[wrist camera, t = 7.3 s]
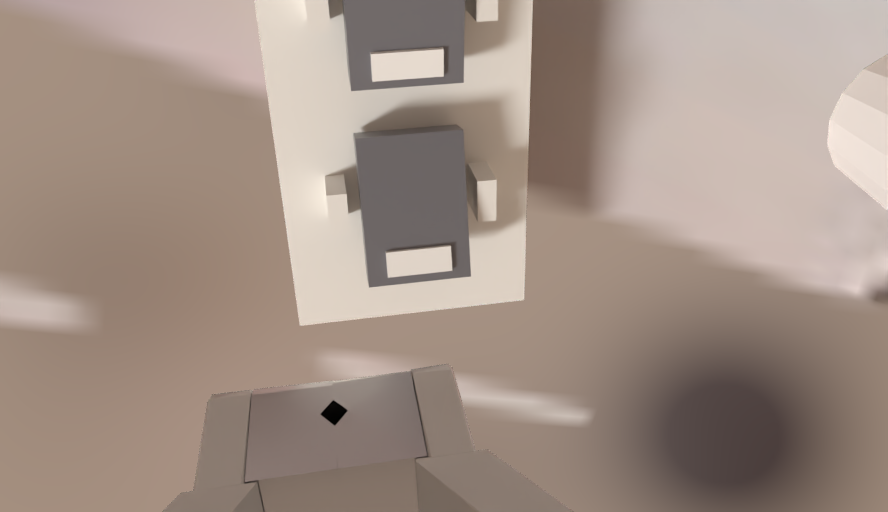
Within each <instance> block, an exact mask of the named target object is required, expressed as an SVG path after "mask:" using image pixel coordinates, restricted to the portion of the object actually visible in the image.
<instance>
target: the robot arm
mask: <svg viewBox="0 0 888 512" xmlns="http://www.w3.org/2000/svg"><path fill="white" fill-rule="evenodd" d="M163 512H574V511H572V510H571V509H570V508H568V507H567V506H566V505H564V504H563V503H561V502H560V501H558V500H557V499H556V498H554V497H553V496H551V495H550V494H549V493H547V492H546V491H545V490H543V489H542V488H541V487H539V486H538V485H536V484H535V483H534V482H532V481H531V480H529V479H528V478H526V477H525V476H524V475H523V474H521V473H520V472H518V471H517V470H516V469H514V468H513V467H511V466H510V465H509V464H507V463H506V462H504V461H503V460H502V459H500V458H499V457H497V456H496V455H494V454H493V453H492V452H491V451H489V450H488V449H485V450H478V451H476V450H475V446H474V443H473V439H472V435H471V432H470V428H469V425H468V421H467V418H466V414H465V411H464V407H463V403H462V400H461V396H460V393H459V389H458V386H457V382H456V379H455V375H454V371H453V368H452V367H451V366H450V365H449V364H444V365H437V366H430V367H424V368H418V369H411V371H406V372H398V373H391V374H383V375H376V376H368V377H361V378H353V379H346V380H338V381H326V382H316V383H307V384H298V385H289V386H280V387H270V388H260V389H254V390H253V391H252V390H245V391H237V392H229V393H220V394H212V396H211V397H210V399H209V400H208V402H207V408H206V413H205V420H204V426H203V432H202V439H201V445H200V451H199V458H198V463H197V470H196V476H195V483H194V489H193V491H190V492H183V493H180V494H179V495H178V496H177V497H176V498H175V499H174V500H173V501H172V502H171V503H170V504H169V505H168V506H167V508H166V509H165V510H164V511H163Z"/></svg>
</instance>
